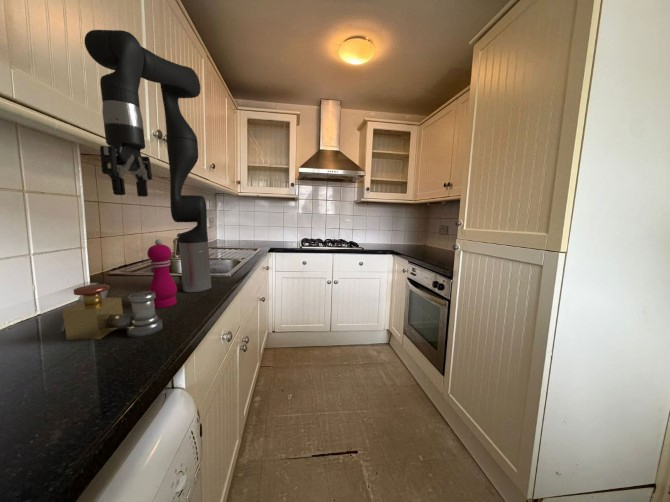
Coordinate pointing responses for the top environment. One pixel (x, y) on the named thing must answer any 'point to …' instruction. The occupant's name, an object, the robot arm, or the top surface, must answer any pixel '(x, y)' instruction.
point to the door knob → (143, 308)
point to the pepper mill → (162, 275)
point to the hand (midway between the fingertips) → (132, 195)
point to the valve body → (100, 316)
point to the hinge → (83, 300)
